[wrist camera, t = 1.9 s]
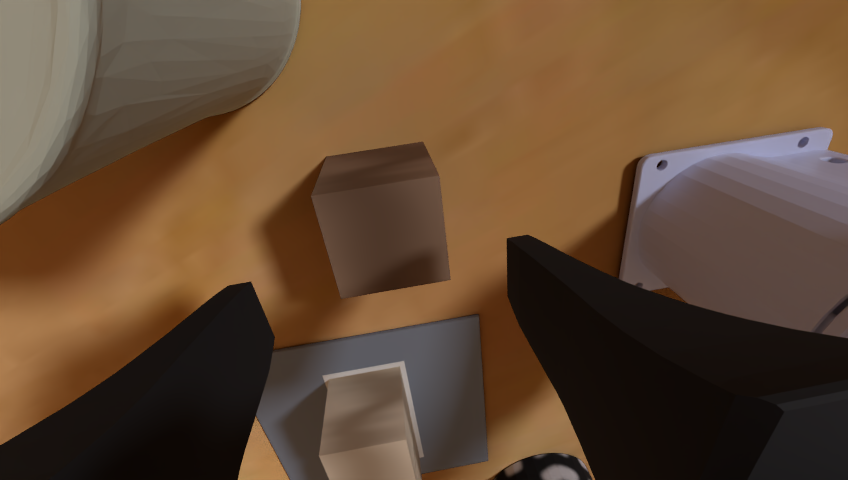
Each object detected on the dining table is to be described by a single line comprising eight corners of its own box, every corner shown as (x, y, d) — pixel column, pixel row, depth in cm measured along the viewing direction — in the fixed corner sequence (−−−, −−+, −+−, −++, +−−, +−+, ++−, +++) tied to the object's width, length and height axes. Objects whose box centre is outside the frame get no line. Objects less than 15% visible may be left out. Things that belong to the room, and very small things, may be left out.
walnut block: (422, 141, 16) (439, 175, 12) (433, 226, 18) (450, 279, 14) (326, 156, 16) (310, 195, 12) (348, 240, 18) (341, 298, 14)
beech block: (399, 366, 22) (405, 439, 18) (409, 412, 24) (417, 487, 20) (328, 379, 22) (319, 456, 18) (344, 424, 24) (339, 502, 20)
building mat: (477, 314, 21) (478, 316, 21) (487, 458, 28) (488, 461, 28) (228, 358, 20) (226, 361, 20) (300, 494, 27) (299, 498, 27)
